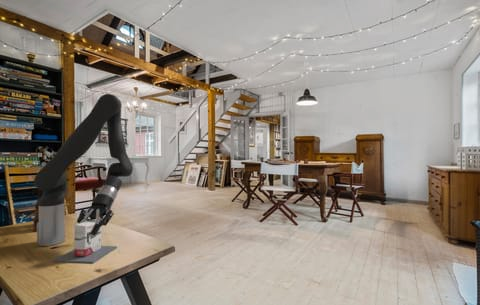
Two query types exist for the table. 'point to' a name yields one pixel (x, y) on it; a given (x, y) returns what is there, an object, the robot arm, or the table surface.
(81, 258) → the charcoal mat
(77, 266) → the table surface
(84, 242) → the ink box
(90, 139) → the robot arm
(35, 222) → the binoculars
